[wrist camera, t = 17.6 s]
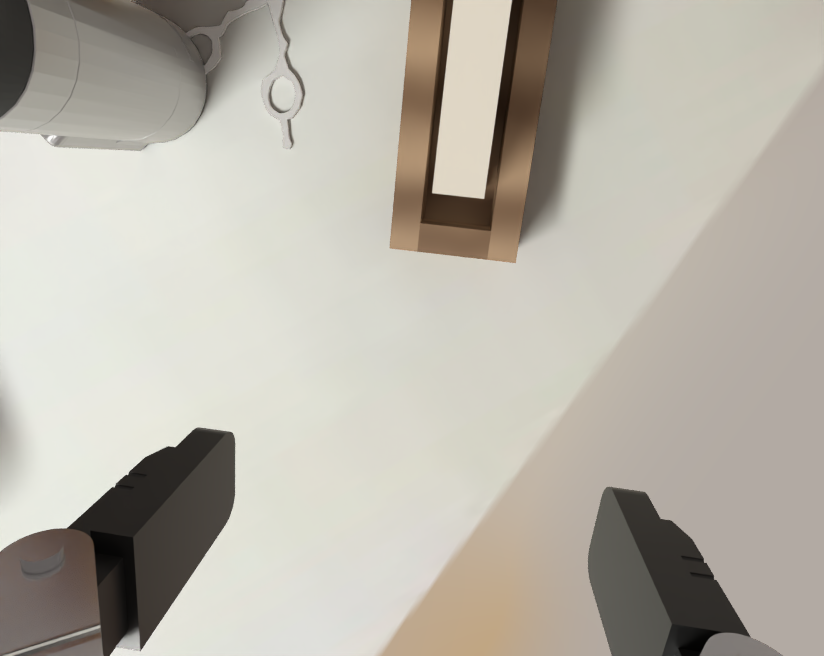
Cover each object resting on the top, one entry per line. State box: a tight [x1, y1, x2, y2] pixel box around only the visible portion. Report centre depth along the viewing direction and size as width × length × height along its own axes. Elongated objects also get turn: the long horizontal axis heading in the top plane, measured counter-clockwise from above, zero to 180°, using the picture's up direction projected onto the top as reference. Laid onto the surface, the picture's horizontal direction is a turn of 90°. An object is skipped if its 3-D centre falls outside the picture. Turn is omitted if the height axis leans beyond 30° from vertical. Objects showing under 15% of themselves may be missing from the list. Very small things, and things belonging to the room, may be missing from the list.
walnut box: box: [390, 0, 557, 263], centre depth 38 cm, size 20×9×5 cm, turn 174°
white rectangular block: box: [432, 0, 512, 199], centre depth 34 cm, size 12×3×10 cm, turn 174°
